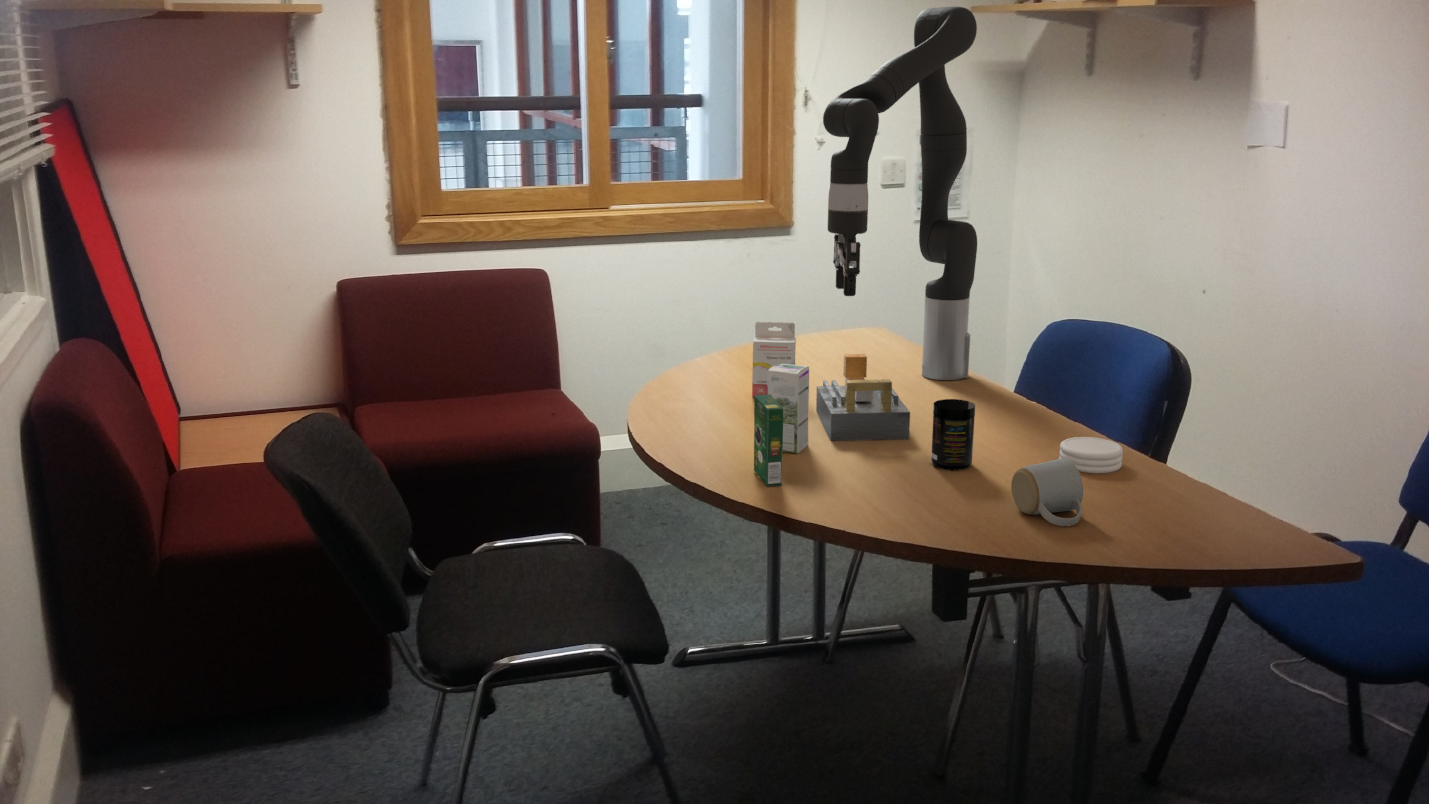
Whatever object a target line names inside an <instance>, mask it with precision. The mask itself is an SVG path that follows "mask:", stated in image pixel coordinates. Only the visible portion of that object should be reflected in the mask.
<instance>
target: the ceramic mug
mask: <svg viewBox="0 0 1429 804" xmlns="http://www.w3.org/2000/svg"><path fill="white" fill-rule="evenodd" d="M1010 486H1011V487H1010V488H1011V494H1012V499H1013V502H1014V503H1015V505H1016V507H1017V508H1018V509H1019V510H1020V511H1021V512H1022V513H1024V514H1026V515H1031V516H1032V515H1033V516H1035V515H1036V516H1037V515H1041V517H1043V518H1044V519H1045V520H1046V521H1047V522H1048V523H1050V524H1052V525H1054V526H1059V527H1064V526H1067V527H1071V526H1070V525H1073V526H1075V525H1076V524H1077V523H1078V522H1079V521H1080V519H1081V516H1082V514H1083V509H1082V505H1081V504H1082V501H1083V498H1084V483H1083V478H1082V476H1081V472H1080V471H1078V469H1077V467H1076V466H1075V465H1074V463H1073V462H1071V461H1070V460H1068V459H1065V458H1061V459H1059V458H1058V459H1054V460H1049V461H1044V462H1040V463H1034V464H1030V465H1025V466H1024V467H1021V468H1018V469H1017V470H1016V471H1015V472H1014V474H1013V476H1012V478H1011V485H1010ZM1068 511H1070V512H1071V511H1075V512H1076V516H1074V517H1071V518H1070V517H1069V518H1065V517H1064V518H1063V517H1059V516H1057V515H1054V514H1053V513H1060V512H1068ZM1068 525H1069V526H1068Z"/></svg>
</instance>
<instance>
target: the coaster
mask: <svg viewBox="0 0 1429 804" xmlns="http://www.w3.org/2000/svg"><path fill="white" fill-rule="evenodd" d="M1059 449H1060V450H1059V453H1058V454H1059V457H1058V459H1061V458H1065V459H1068V460H1070V461H1071V462H1073V463H1074V465H1075V466H1076V467H1077V469H1078V471H1079V473H1088V474H1109V473H1114V472H1117V471H1118V470H1120V469H1121V467H1122V466H1123V464H1122V463H1123V462H1122V461H1123V457H1124V456H1123V453H1124V449H1123V447H1122V446H1121V445H1120V444H1119V443H1116V441H1114V440H1109V439H1105V438H1101V437H1100V438H1099V437H1094V436H1076V437H1070V438H1066V439H1064V440H1062V441H1061V442H1060V445H1059Z"/></svg>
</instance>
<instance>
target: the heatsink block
mask: <svg viewBox="0 0 1429 804" xmlns="http://www.w3.org/2000/svg"><path fill="white" fill-rule="evenodd" d="M844 384H845V385H839V384H838V381H837V380H835V379H834V380H832V379H831V383H829V381H828V380H827V379H826V380H822V385H819V386H818V385H816V404H815V405H816V407H815V411H816V414H817V415H818V419H819V420H820V422H821V424H822V426H823V428H824V430H825V433H826V434H827V436H828V438H829V441H832V442H833V441H834V442H836V441H881V440H883V441H884V440H886V441H887V440H892V441H893V440H910V427H911V426H910V425H911V424H910V423H911V422H910V421H911V420H910V419H911V411H910V409H908V407H907V406H906V405H905V403H904V402H903V401H902V400H901V397H899V395H898V393H897V392H896V391H895V389H894V388H893V381H892V380H891V379H886V378H885V379H884V378H883V379H865V380H846V379H845V381H844ZM855 391H873V401H860V402H856V400H855Z"/></svg>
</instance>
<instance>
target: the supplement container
mask: <svg viewBox="0 0 1429 804" xmlns="http://www.w3.org/2000/svg"><path fill="white" fill-rule="evenodd" d="M932 409H933V411H932V414H933V415H932V416H933V417H932V418H933V419H932V435H931V437H932V438H931V439H932V440H931V457H930V458H931V459H930V461H931V463H932V465H933V466H935V468H938V469H940V470H946V471H963V470H966V469H969V468H970V467H971V466H972V463H973V454H974V453H973V451H974V450H973V448H974V431H975V416H976V404H975V403H974V402H973V401H968V400H965V399H956V398H946V399H939V400H936V401H934V402H933V408H932Z"/></svg>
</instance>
